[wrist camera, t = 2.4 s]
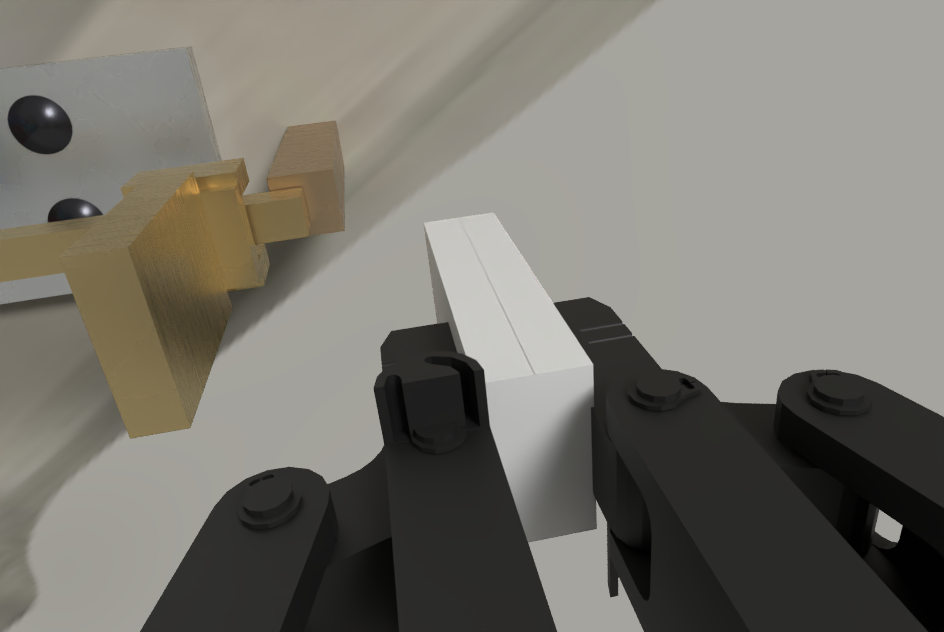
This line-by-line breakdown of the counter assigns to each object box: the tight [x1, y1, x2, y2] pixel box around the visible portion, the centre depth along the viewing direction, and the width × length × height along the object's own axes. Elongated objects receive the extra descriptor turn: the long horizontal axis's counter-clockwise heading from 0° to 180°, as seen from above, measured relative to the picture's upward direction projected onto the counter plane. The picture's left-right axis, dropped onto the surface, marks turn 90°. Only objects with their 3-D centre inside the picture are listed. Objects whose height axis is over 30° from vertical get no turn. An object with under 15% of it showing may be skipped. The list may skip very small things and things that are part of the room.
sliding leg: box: [59, 158, 270, 438], centre depth 20 cm, size 3×4×16 cm
